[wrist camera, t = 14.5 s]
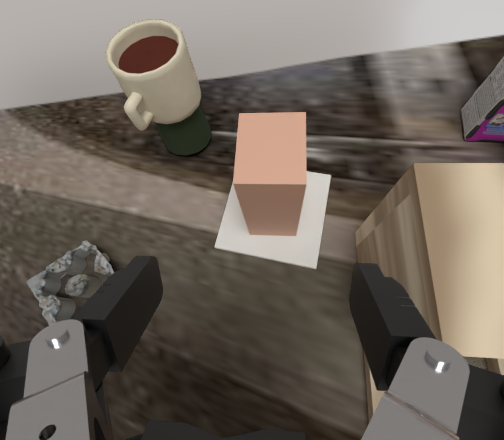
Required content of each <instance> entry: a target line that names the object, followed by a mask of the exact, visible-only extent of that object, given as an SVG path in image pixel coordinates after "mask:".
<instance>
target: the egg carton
mask: <svg viewBox="0 0 504 440" xmlns="http://www.w3.org/2000/svg"><path fill="white" fill-rule="evenodd" d="M91 253H92V254H95V255H96V260H95V262H94V265H95V268H94V271H95V272H96V273H100V274H104V275H107V276H110V275H112V274H113V273H115V272H113V269H112V267H111V265H110V264H109V260H110V258H109V256H108V255H107V254H105V253H101V252H100V251H98V250H97V248H96V246H95V245H92V244H90V243H89V242H88V241H83V242H82V243H81V246H79V247H78V248H76V249H74V250H70V251H68V252H67V253H66V255H65V256H63V257H61V258H59V259H57V260H56V261H55V262H54V263H52V264H50V265H49V266H47V267H46V269H45V271H43V272H41V273H39V274H37V275H35V276H34V277H32V278H31V279H29V280H28V281H27V284H28V286H29V287H30V289H31V290H32V292H33V294H34V295H35V297H36V298H37V299H38V300H39V302H40V304H39V306H40V307H41V308H43V313H42V315H43V317H44V318H45V319H46V321H47V322H48V324H49V326H50V325H52V324H54V323H57V322H60V321H63V320H70V319H71V316H72V315H73V314H74V312H75V308H76V305H75V302H74V301H73V300H72V299H70V298H62V297H57V295H56V293H57V292H58V291H59V290H60V287H61V278H62V277H63V276H64V275H66V274H68V275H76V276H74V277H72V278H70V279H69V280H68V282H67V285H66V287H65V293H66V294H68V295H71V296H74V297H82V298H91V296H92V295H93V294H94V293H96V291H97V290H98V289H99V288H100V286H101V282H100V280H99V279H98V278H96V277H93V276H89V275H87V274H86V275H85V274H81V273H82V272H83V271H84V269H85V267H86V260H85V258H86V257H87V256H88V255H89V254H91Z"/></svg>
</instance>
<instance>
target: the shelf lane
mask: <svg viewBox="0 0 504 440" xmlns="http://www.w3.org/2000/svg"><path fill="white" fill-rule="evenodd" d="M355 241H356V254H357V263H375V264H377V265H378V266H379V268H380V270H381V271H382V273H383V275H384V277H392V278H393V279H395V280H396V281H397V282H398V283H400V284H401V285H402V286H403V287H404V288H405V290H406V292H407V293H408V295H409V296H410V299H412V301H413V303H414V304H415V307H417V309H418V311H419V312H420V314H421V315H422V317H423V318H424V320H425V322H426V323H427V325H428V326H429V328H430V329H431V331H432V333H433V334H434V336H435V337H436V339H437V340H439V341H442V342H444V343H446V344H448V345H450V346H451V347H453V348H454V349H455V350H457V351H458V352H459V353H460V354H461V355H462V356H468V357H483V358H486V362H487V367H488V371H491V372H495V373H498V374H501V375H504V163H413V164H412V166H411V167H410V168H409V169H408V170H407V172H406V173H405V174H404V175H403V176H402V177H401V179H400V180H399V181H398V182H397V183H396V185H395V186H394V187H393V188H392V189H391V190H390V192H389V193H388V194H387V195H386V196H385V198H384V199H383V200H382V201H381V202H380V203H379V205H378V206H377V207H376V208H375V209H374V211H373V212H372V213H371V214H370V215H369V216H368V218H367V219H366V220H365V221H364V222H363V224H362V225H361V226H360V227H359V228H358V229H357V231H356V232H355ZM364 363H365V376H366V390H367V403H368V417H369V423H370V420H371V418H372V416H373V414H374V412H375V410H376V408H377V406H378V404H379V402H380V400H381V398H382V396H383V394H384V392H385V391H377V389H376V386H375V383H374V380H373V377H372V374H371V371H370V368H369V365H368V362H367V359H366V356H365V353H364ZM386 392H387V391H386Z"/></svg>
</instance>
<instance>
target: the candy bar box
mask: <svg viewBox="0 0 504 440" xmlns="http://www.w3.org/2000/svg"><path fill="white" fill-rule="evenodd" d="M460 113H461V120H462V124H463V133H464V139H465V141H477V142H504V57H503V58H502V59H501V61H500V62H499V63H498V64H497V66H496V67H495V68H494V69H493V71H492V72H491V73H490V74H489V75H488V77H487V78H486V79H485V80H484V81H483V83H482V84H481V85H480V86H479V87H478V89H477V90H476V91H475V92H474V94H473V95H472V96H471V97H470V98H469V100H468V101H467V102H466V103H465V105H464V106H463V107H462V108H461V110H460Z"/></svg>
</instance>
